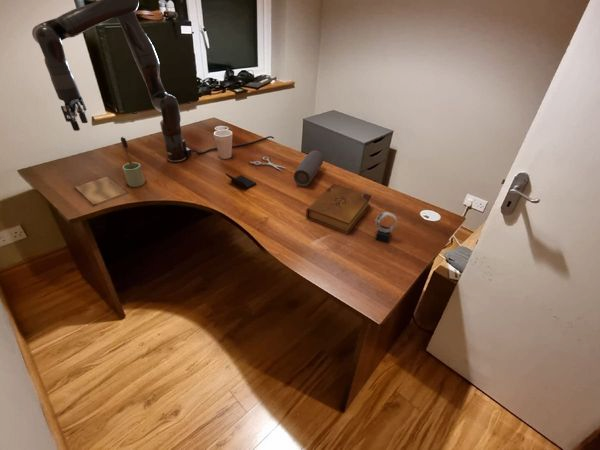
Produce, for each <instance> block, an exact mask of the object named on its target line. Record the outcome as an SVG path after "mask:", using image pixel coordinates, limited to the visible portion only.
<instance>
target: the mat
mask: <svg viewBox="0 0 600 450" xmlns="http://www.w3.org/2000/svg"><path fill="white" fill-rule="evenodd" d="M75 189H76V190H77V191H78V192H79V193H80V194H81V195H82V196H83V197H84V198H85V199H86V200H87V201H88V202H89V203H90V204H91V205H92V206H96V205H97V204H99V203H102V202H104V201H106V200H110V199H113V198H115V197H117V196H120V195H123V194H126V193H127V191H125V189H123V188H122V187H121V186H120V185H119V184H117V183H116V182H115V181H113V179H111V178H110V177H109V176H104V177H101V178H98V179H95V180H92V181H89V182H86V183H83V184H80V185H77V186H75Z"/></svg>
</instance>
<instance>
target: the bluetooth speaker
mask: <svg viewBox="0 0 600 450" xmlns="http://www.w3.org/2000/svg"><path fill="white" fill-rule="evenodd" d="M324 157H325V156H324V155H323V153H322V152H321V151H319V150H317V149H313V150H312V151H310V152H309V153H308V154H307V155H306V156H305V157H304V158H303V159H302V161H301V162H300V163H299V165H298V166H297V168H296V169H295V171H294V174H293V180H294V182H295V183H296V184H297V185H299V186H301V187H305V186H308V185H309V184H310V183H311V182H312V181H313V179H314V178H315V177H316V175H317V174H318V173H319V171H320V169H321V167H322V165H323V164H324V160H325V158H324Z"/></svg>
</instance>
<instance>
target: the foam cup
mask: <svg viewBox="0 0 600 450" xmlns="http://www.w3.org/2000/svg"><path fill="white" fill-rule="evenodd" d="M233 135H234V134H233V131H232V130H229V129H218V130H215V131H214V132H213V139H214V141H215V146H216V148H217V149H216V150H217V152H218V156H219V158H220V159H223V160H226V159H230V158H232V156H233V155H232V153H233V147H232V146H233V137H234V136H233Z"/></svg>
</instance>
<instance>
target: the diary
mask: <svg viewBox="0 0 600 450" xmlns="http://www.w3.org/2000/svg"><path fill="white" fill-rule="evenodd" d="M371 198H372V195H371V194H368V193H365V192H362V191H358V190H355V189H353V188H349V187H346V186H342V185H340V184H336V183H333V184H331V185H330V186H329V187H328V188H327V189H325V190H324V192H323V193H322V194H320V196H319V197H318V198H317V199H316V200H314V202H312V203H311V204H310V205H309V206H308V207H307V208H306V210H305V211H306V212H305V218H306V219H307V220H308V221H311V222H313V223H315V224H318V225H321V226H324V227H326V228H329V229H332V230H334V231H337V232H339V233H343V234H345V235H349V233H350V232H351V231H352V230H353V228H354V227H355V226H356V224H357V223H358V222H359V221H360V219H361V218H362V217H363V215H364V214H365V213H366V212H367V210H368V209H369V208H370V207H371V204H370V203H369V202H370V200H371Z"/></svg>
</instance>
